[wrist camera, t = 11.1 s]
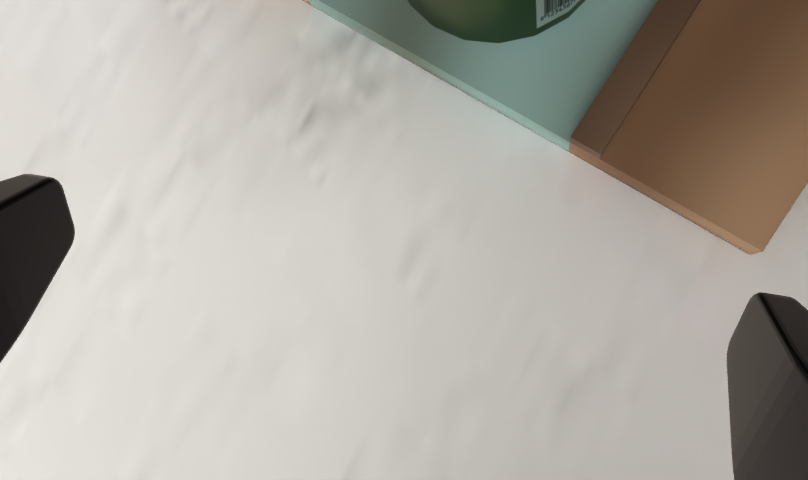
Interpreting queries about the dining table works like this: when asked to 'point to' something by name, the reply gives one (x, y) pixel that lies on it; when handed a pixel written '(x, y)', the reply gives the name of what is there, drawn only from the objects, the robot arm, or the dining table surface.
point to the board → (645, 96)
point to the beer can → (495, 17)
